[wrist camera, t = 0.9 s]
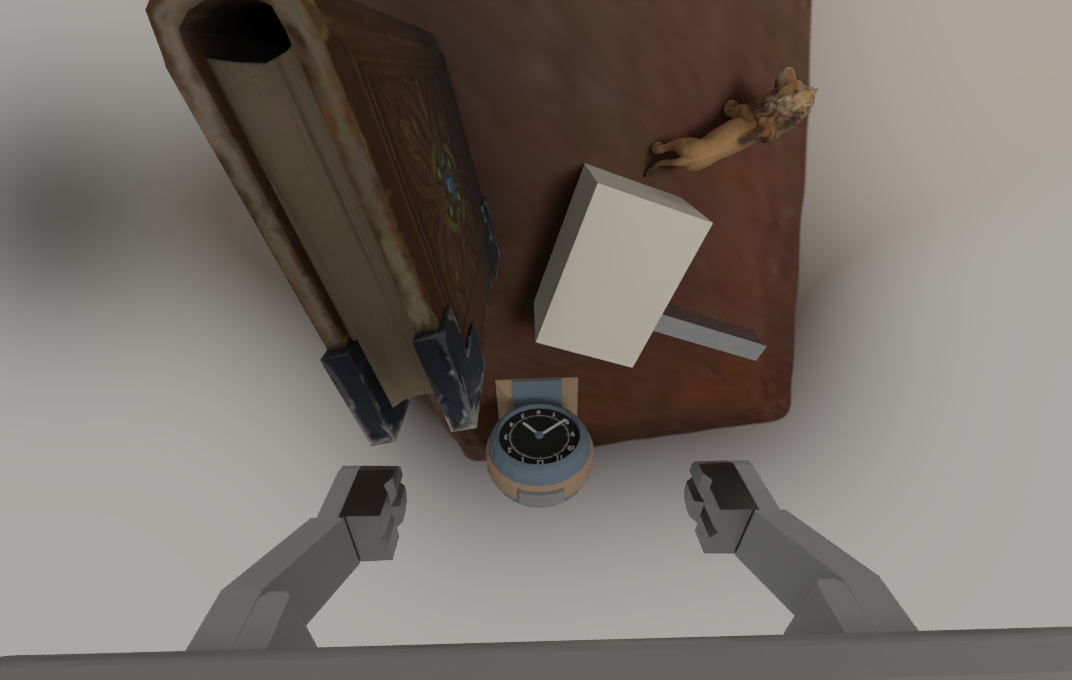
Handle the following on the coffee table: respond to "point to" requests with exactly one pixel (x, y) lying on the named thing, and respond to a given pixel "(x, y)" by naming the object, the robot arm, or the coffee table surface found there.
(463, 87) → the coffee table surface
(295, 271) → the decorative book
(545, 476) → the alarm clock
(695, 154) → the lion figurine
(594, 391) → the coffee table surface
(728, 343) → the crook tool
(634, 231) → the block
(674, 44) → the coffee table surface
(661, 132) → the coffee table surface
